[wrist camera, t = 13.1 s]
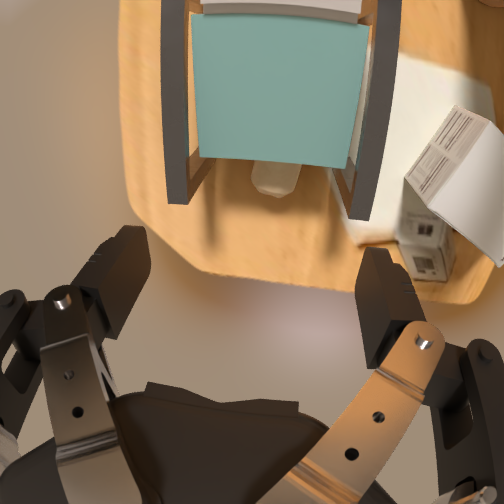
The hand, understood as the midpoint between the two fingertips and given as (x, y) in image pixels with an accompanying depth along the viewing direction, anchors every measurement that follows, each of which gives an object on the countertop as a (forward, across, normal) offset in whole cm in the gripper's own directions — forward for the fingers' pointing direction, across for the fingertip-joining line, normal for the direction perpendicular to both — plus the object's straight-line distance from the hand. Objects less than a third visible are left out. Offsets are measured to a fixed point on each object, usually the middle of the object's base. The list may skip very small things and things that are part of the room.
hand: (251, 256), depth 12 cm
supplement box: (+30, -28, +4) cm, 41 cm away
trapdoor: (+20, 0, -5) cm, 21 cm away
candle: (+27, -2, 0) cm, 27 cm away
